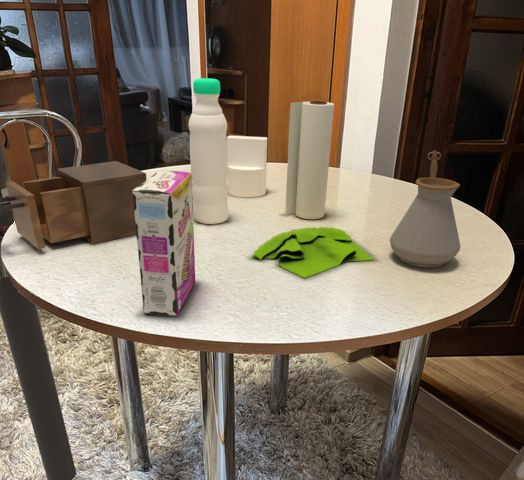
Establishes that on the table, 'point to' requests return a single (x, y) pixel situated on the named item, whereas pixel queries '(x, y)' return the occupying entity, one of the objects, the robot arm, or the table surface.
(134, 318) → the table surface
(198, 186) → the water bottle
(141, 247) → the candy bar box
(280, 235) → the cloth
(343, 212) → the table surface
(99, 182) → the cabinet
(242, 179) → the cylinder with rectangular tab
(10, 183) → the drawer
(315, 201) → the paper towel roll
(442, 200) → the coffee pot
